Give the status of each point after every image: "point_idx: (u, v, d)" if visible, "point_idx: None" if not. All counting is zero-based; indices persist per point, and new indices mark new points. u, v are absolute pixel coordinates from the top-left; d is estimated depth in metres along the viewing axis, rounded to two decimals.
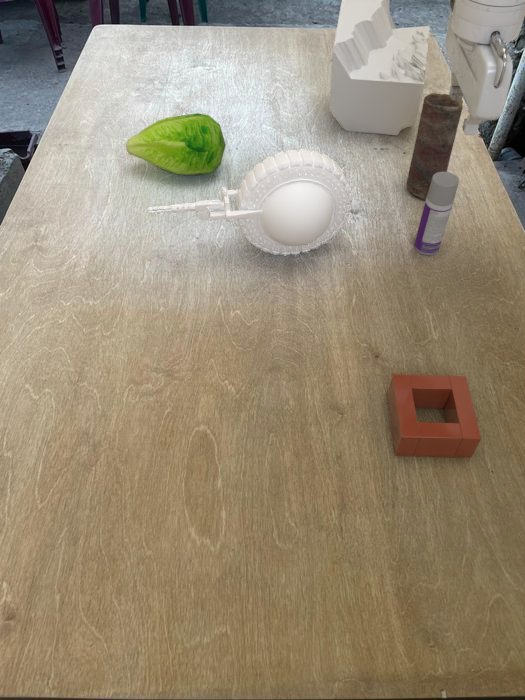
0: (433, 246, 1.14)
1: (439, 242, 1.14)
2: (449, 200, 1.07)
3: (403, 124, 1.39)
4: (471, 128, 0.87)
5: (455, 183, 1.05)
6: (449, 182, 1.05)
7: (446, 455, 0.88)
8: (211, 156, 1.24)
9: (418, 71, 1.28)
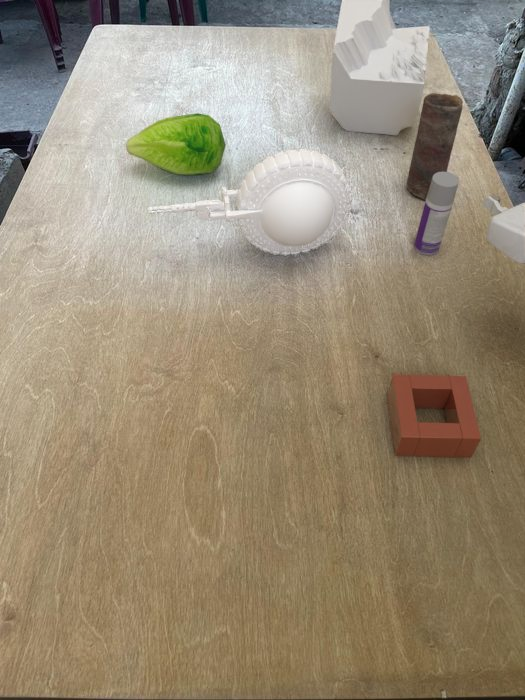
0: (433, 246, 1.14)
1: (439, 242, 1.14)
2: (449, 200, 1.07)
3: (403, 124, 1.39)
4: None
5: (455, 183, 1.05)
6: (449, 182, 1.05)
7: (446, 455, 0.88)
8: (211, 156, 1.24)
9: (418, 71, 1.28)
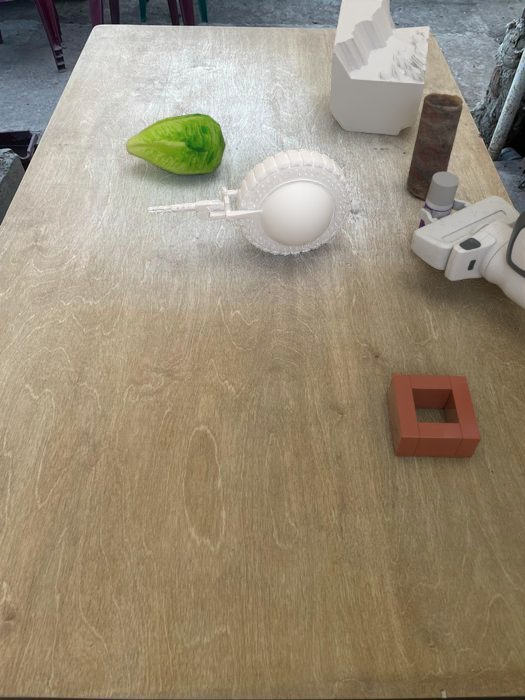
0: None
1: None
2: (449, 200, 1.07)
3: (403, 124, 1.39)
4: None
5: (455, 183, 1.05)
6: (449, 182, 1.05)
7: (446, 455, 0.88)
8: (211, 156, 1.24)
9: (418, 71, 1.28)
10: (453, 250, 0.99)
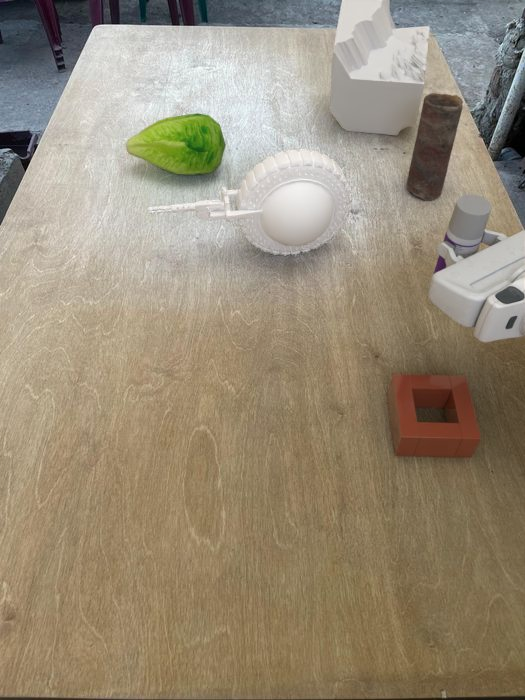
0: None
1: None
2: (478, 232, 0.81)
3: (403, 124, 1.39)
4: None
5: (487, 210, 0.79)
6: (478, 208, 0.79)
7: (446, 455, 0.88)
8: (211, 156, 1.24)
9: (418, 71, 1.28)
10: (487, 303, 0.73)
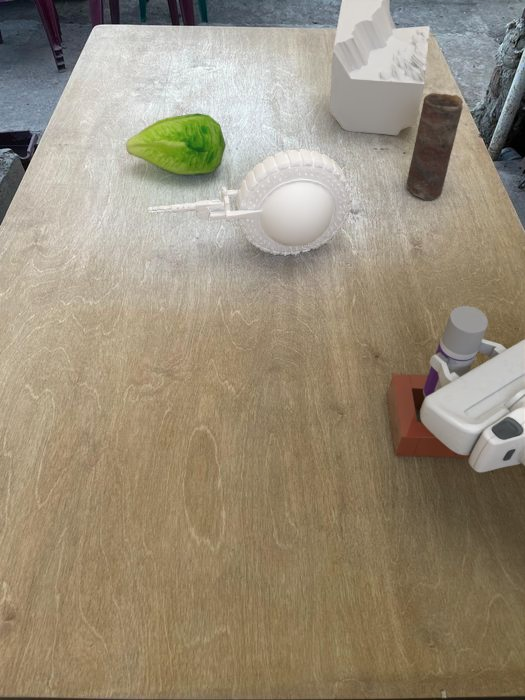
0: None
1: None
2: (474, 347, 0.75)
3: (403, 124, 1.39)
4: None
5: (483, 326, 0.74)
6: (474, 324, 0.74)
7: (446, 455, 0.88)
8: (211, 156, 1.24)
9: (418, 71, 1.28)
10: (482, 438, 0.68)
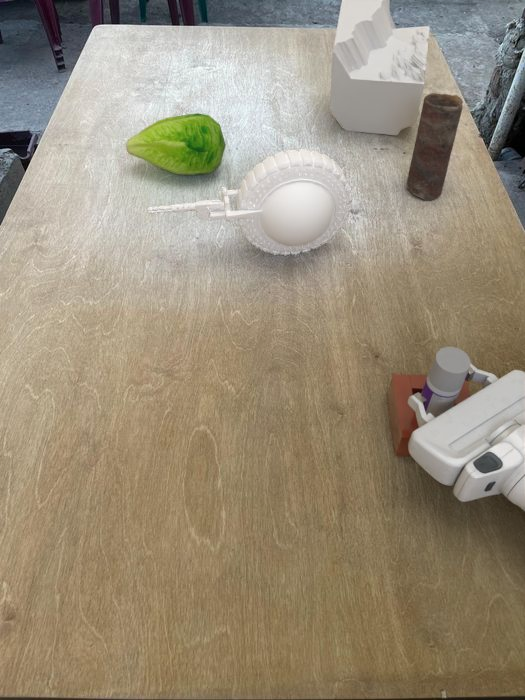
0: None
1: None
2: (458, 386, 0.81)
3: (403, 124, 1.39)
4: None
5: (466, 367, 0.79)
6: (457, 365, 0.80)
7: None
8: (211, 156, 1.24)
9: (418, 71, 1.28)
10: (465, 471, 0.73)
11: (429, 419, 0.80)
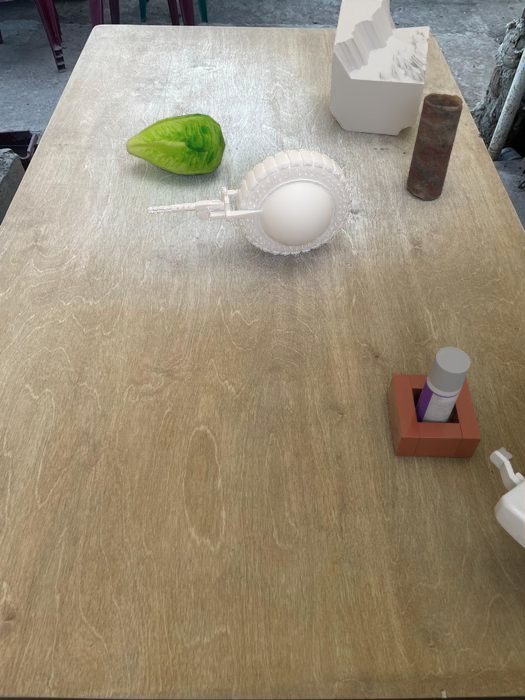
0: None
1: None
2: (458, 386, 0.81)
3: (403, 124, 1.39)
4: None
5: (466, 367, 0.79)
6: (457, 365, 0.80)
7: (446, 455, 0.88)
8: (211, 156, 1.24)
9: (418, 71, 1.28)
10: None
11: (518, 480, 0.69)
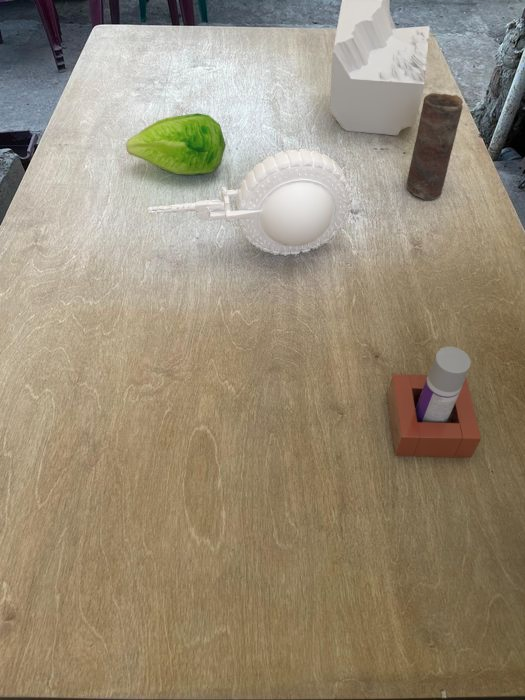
0: None
1: None
2: (458, 386, 0.81)
3: (403, 124, 1.39)
4: None
5: (466, 367, 0.79)
6: (457, 365, 0.80)
7: (446, 455, 0.88)
8: (211, 156, 1.24)
9: (418, 71, 1.28)
10: None
11: None
